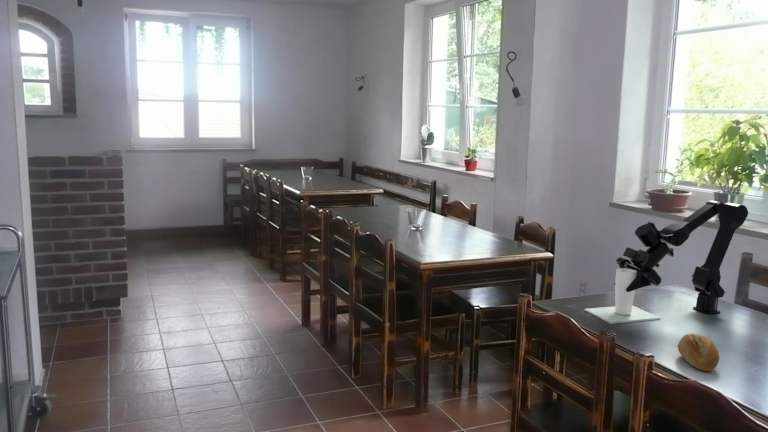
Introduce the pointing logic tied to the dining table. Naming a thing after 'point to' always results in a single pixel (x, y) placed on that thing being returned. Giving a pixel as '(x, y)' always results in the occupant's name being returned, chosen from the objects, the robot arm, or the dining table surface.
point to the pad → (612, 317)
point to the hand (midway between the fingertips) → (620, 288)
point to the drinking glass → (624, 291)
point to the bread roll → (699, 351)
